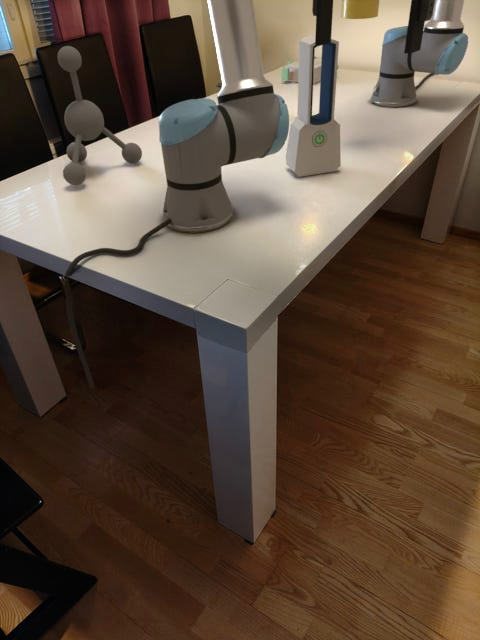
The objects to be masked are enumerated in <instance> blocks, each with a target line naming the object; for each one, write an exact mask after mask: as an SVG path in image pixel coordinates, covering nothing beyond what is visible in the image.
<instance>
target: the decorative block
mask: <svg viewBox="0 0 480 640" xmlns="http://www.w3.org/2000/svg"><path fill="white" fill-rule="evenodd" d="M321 61H322V56H315V55H314V76H313V85H316V84H317V83H320V82H321ZM337 70H339V64H337ZM298 76H299V60H296V61H287V62H286V65H283V67H281V81H282V82H283V81H284V82H292V83H298Z"/></svg>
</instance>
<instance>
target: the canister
mask: <svg viewBox="0 0 480 640" xmlns="http://www.w3.org/2000/svg"><path fill="white" fill-rule="evenodd" d="M379 8H380V0H341V14H340V18H342V19H346V20H365V19H375V18H377V17H378V16H379Z"/></svg>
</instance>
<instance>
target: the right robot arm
mask: <svg viewBox="0 0 480 640" xmlns="http://www.w3.org/2000/svg"><path fill="white" fill-rule="evenodd" d="M464 4H465V0H435V3H434V9H433V15H432V17H431V19H430V20H428V21H427V23H425V24H424V30H423V36H422V42H421V48H420V50H419V51H416V52H413V53H410V54H407V53H404V50H405V43H406V36H407V29H408V25H403V26H398V27H393V28H389V29H387V30H386V31H385V32H384V36H383V40H382V45H381V46H382V48H381V56H380V65H379V75H378V79H377V82H376V84H375V85H374V87H373V89H372V90H373V92H372V94H371V99H370V102H371V103H372V104H373V105H376V106H379V107H387V108H403V107H408V106H412V105H414V104H415V103H416V101H417V91H416V90H417V89H418V88H420V87H421V86H422V84H423V83H425V81H426V80H427V79H428V78H429V77H431V76H433V75H437V76H438V75H444V76H446V75H447V76H448V75H451V74H453V73H454V72H455V71H456V70H457V69H458V68H459V66H460V65H461V64H462V62H463V61H464V57H465V56H466V53H467V49H468V45H469V36H468V34H466V33H465V32H464V29H465V25H464V23H463V22H462V19H461V17H462V12H463V9H464ZM415 72H416V73H427V75H426V76H425V77H423V79H421V81H420V82H419V83H418V84H417V85H415V74H416V73H415Z"/></svg>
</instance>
